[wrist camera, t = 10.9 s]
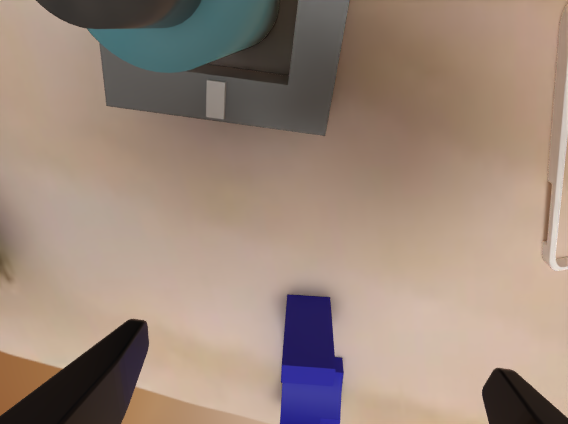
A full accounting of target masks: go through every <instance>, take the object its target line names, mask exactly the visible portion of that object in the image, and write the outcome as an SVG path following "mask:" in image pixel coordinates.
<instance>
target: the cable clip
mask: <svg viewBox="0 0 568 424" xmlns="http://www.w3.org/2000/svg"><path fill="white" fill-rule="evenodd" d="M343 373H344V372H343V362H342V358H340V357H335V355H334V342H333V328H332V315H331V302H330V297H319V296H304V295H288V294H287V306H286V319H285V331H284V344H283V357H282V373H281V383H283V384H282V401H281V417H280V424H340V409H341V391H342V381H343Z"/></svg>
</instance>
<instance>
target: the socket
mask: <svg viewBox="0 0 568 424" xmlns="http://www.w3.org/2000/svg"><path fill="white" fill-rule="evenodd" d="M349 1H350V0H298V6H297V14H296V23H295V31H294V39H293V47H292V55H291V64H290V72H289V75H282V74H275V73H267V72H260V71H253V70H246V69H238V68H231V67H224V66H217V65H210V64H204V65H202V66H199V67H196V68H194V69H191V70H187V71H183V72H175V73H162V72H154V71H149V70H145V69H142V68H139V67H136V66H134V65H132V64H130V63H128V62H126V61H124V60H122V59H120V58H119V57H117V56H116V55H114V54H113V53H111V52H110V51H109V50H108V49H106V48H105V47H104V46H103V45H102V44H101V43H100V51H101V60H102V69H103V78H104V87H105V96H106V105H107V106H111V107H118V108H125V109H133V110H140V111H147V112H155V113H162V114H169V115H176V116H184V117H191V118H198V119H205V120H213V121H220V122H227V123H235V124H242V125H249V126H256V127H264V128H271V129H278V130H286V131H293V132H300V133H307V134H315V135H322V136H325V134H326V128H327V123H328V117H329V111H330V106H331V100H332V95H333V89H334V84H335V78H336V73H337V67H338V62H339V56H340V51H341V45H342V40H343V34H344V29H345V23H346V18H347V12H348V7H349Z"/></svg>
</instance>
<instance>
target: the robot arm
mask: <svg viewBox="0 0 568 424" xmlns="http://www.w3.org/2000/svg"><path fill="white" fill-rule="evenodd" d="M148 347H149V338H148V326H147V322H146V321H144V320H138V319H130V320H128V321H126V322H125V323H123V324H122V325H121V326H119V327H118V328H117V329H115V330H114V331H113V332H112V333H110V334H109V335H108V336H106V337H105V338H104V339H102V340H101V341H100V342H98V343H97V344H96V345H94V346H93V347H92V348H90V349H89V350H88V351H86V352H85V353H84V354H82V355H81V356H80V357H78V358H77V359H76V360H74V361H73V362H72V363H70V364H69V365H68V366H66V367H65V368H64V369H62V370H61V371H60V372H58V373H57V374H56V375H54V376H53V377H52V378H50V379H49V380H48V381H46V382H45V383H44V384H42V385H41V386H40V387H38V388H37V389H36V390H34V391H33V392H32V393H30V394H29V395H28V396H26V397H25V398H24V399H22V400H21V401H20V402H18V403H17V404H16V405H14V406H13V407H12V408H11V409H9V410H8V411H6V412H5V413H4V414H2V415H1V416H0V424H121V422H122V420H123V418H124V415H125V413H126V410H127V408H128V405H129V403H130V399H131V397H132V394H133V391H134V389H135V386H136V383H137V380H138V377H139V374H140V371H141V369H142V366H143V363H144V360H145V357H146V354H147V351H148ZM482 396H483V401H484V405H485V409H486V413H487V417H488V421H489V424H568V418H567V417H566V416H565V415H564V414H562V413H561V412H560V411H559V410H558V409H557V408H556V407H555V406H553V405H552V404H551V403H550V402H549V401H548V400H547V399H546V398H544V397H543V396H542V395H541V394H540V393H539V392H538V391H537V390H535V389H534V388H533V387H532V386H531V385H530V384H529V383H528V382H526V381H525V380H524V379H523V378H522V377H521V376H520V375H519V374H517V373H516V372H515V371H513V370H510V369H503V368H496V369H494V370H493V372H492V373H491V375H490V377H489V378H488V380H487V382H486V383H485V385H484V387H483V390H482Z"/></svg>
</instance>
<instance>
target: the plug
mask: <svg viewBox="0 0 568 424" xmlns="http://www.w3.org/2000/svg"><path fill="white" fill-rule="evenodd" d="M36 1H37V2H38V3H39V4H40V5H41V6H43V7H44V8H45V9H46V10H48V11H49V12H50V13H52V14H53V15H55V16H56V17H58V18H60V19H62V20H64V21H66V22H68V23H70V24H73V25H76V26H79V27H83V28H87V29H88V31H89V32H90V33H91V34H92V35H93V36H94V37H95V38H96V39H97V40H98V41H99V42H100V43H101V44H102V45H103V46H104V47H105V48H106V49H108V50H109V51H110V52H111V53H113V54H114V55H116V56H117V57H119V58H120V59H122V60H124V61H126V62H128V63H130V64H132V65H134V66H136V67H139V68H142V69H145V70H149V71H154V72H162V73H175V72H183V71H187V70H191V69H194V68H196V67H199V66H202V65H204V64H207V63H209V62H212V61H215V60H217V59H220V58H222V57H225V56H228V55H230V54H233V53H236V52H238V51H241V50H243V49H246V48H249V47H251V46H253V45H255V44H257V43H259V42H260V41H261V40H262V39H264V38H265V37H266V35H267V34H268V33H269V32H270V30H271V29H272V27H273V25H274V23H275V21H276V18H277V15H278V11H279V5H280V0H36Z"/></svg>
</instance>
